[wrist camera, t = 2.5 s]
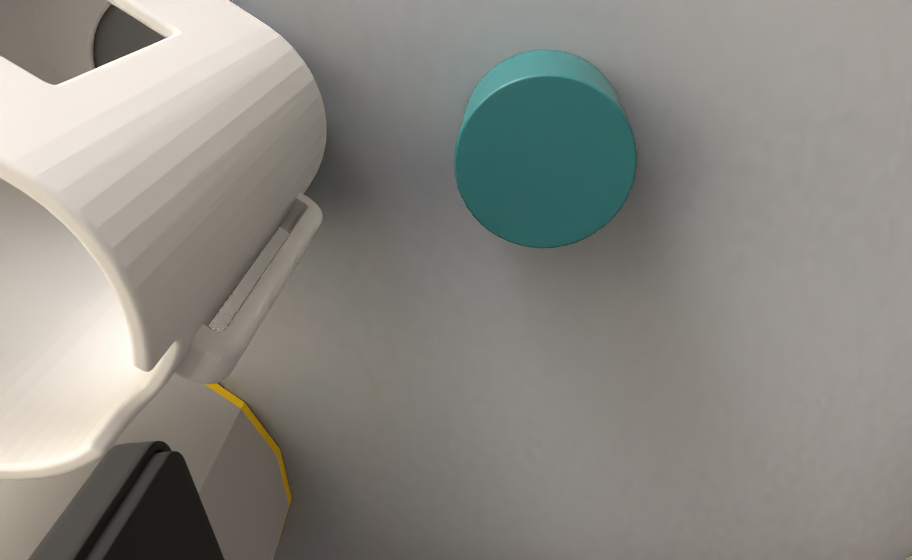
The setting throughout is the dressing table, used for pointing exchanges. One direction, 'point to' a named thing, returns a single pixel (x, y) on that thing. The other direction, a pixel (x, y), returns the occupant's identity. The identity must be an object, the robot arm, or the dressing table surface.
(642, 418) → the dressing table surface
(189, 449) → the soap bottle
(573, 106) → the cylinder
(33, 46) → the cable organizer
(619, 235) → the dressing table surface
